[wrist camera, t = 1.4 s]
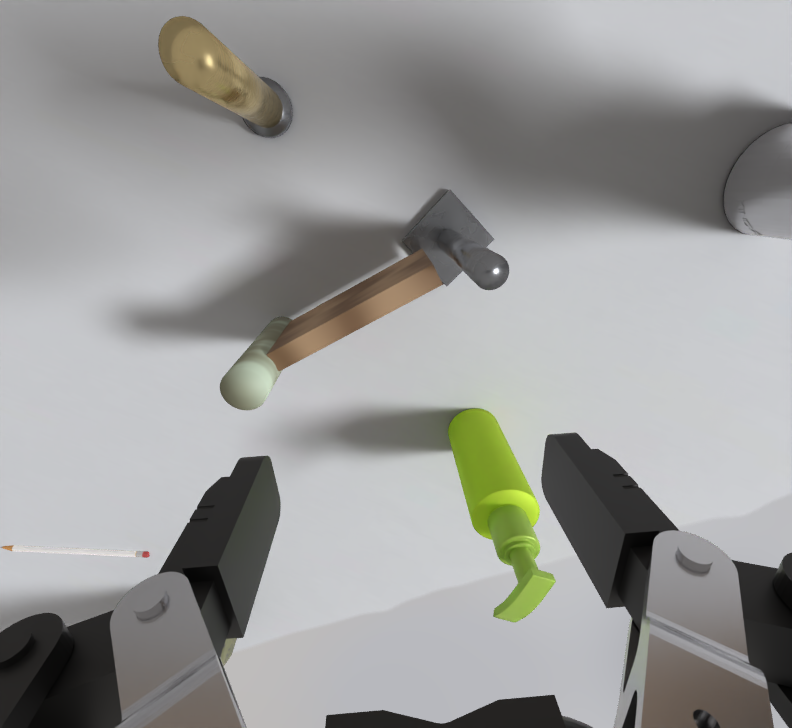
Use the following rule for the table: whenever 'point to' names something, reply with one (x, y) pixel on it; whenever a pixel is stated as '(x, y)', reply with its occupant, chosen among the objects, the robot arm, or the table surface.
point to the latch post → (223, 77)
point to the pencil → (77, 551)
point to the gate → (324, 327)
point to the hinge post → (457, 244)
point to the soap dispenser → (500, 506)
